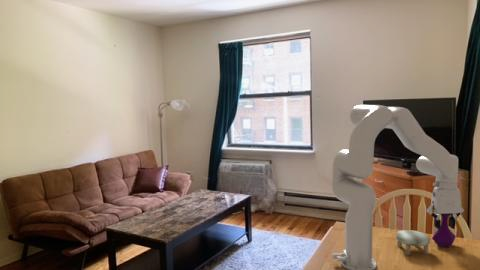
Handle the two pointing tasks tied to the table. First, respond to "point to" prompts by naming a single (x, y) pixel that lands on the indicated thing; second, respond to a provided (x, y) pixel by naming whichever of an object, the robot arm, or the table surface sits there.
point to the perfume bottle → (444, 233)
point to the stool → (413, 240)
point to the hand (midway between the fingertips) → (444, 227)
